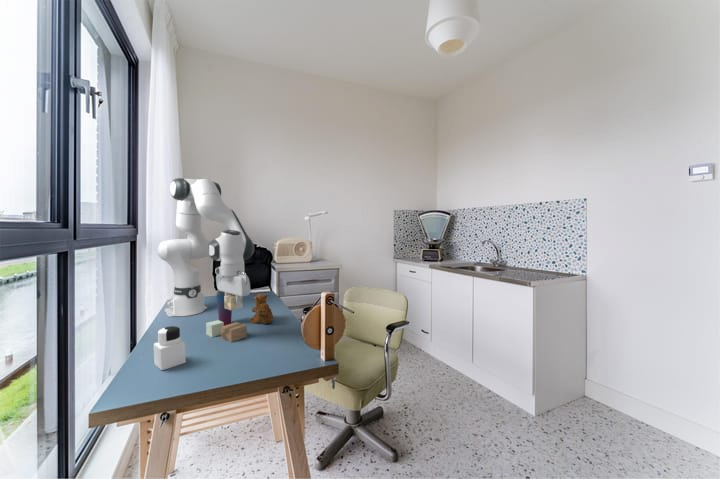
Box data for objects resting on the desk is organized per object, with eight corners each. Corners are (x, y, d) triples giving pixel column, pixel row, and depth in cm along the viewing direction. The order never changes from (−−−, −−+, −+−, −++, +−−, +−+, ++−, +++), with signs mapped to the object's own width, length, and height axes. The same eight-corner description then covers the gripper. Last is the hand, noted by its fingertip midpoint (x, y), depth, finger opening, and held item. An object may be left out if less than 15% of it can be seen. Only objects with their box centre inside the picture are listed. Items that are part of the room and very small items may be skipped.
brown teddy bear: (267, 316, 148) (267, 290, 147) (279, 323, 137) (279, 295, 136) (247, 320, 142) (247, 293, 141) (258, 328, 131) (258, 299, 130)
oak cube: (224, 308, 119) (224, 296, 119) (236, 305, 123) (235, 293, 123) (230, 310, 116) (230, 297, 116) (242, 307, 120) (242, 295, 120)
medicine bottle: (177, 356, 102) (176, 323, 102) (186, 363, 98) (184, 327, 97) (153, 364, 97) (152, 328, 96) (161, 371, 92) (160, 333, 92)
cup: (229, 326, 133) (228, 293, 132) (214, 326, 133) (213, 293, 132) (235, 321, 140) (235, 290, 139) (221, 321, 140) (220, 290, 139)
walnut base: (221, 338, 119) (220, 326, 119) (236, 333, 125) (236, 322, 125) (231, 342, 115) (231, 330, 115) (246, 337, 121) (246, 325, 121)
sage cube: (206, 334, 123) (206, 323, 123) (218, 331, 127) (217, 320, 127) (211, 337, 120) (211, 325, 120) (223, 333, 124) (223, 322, 124)
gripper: (254, 271, 115) (254, 306, 115) (227, 267, 127) (228, 298, 128) (238, 273, 110) (239, 310, 110) (213, 269, 122) (213, 301, 123)
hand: (233, 304), depth 119 cm, fingers closed on oak cube, 5 cm apart
